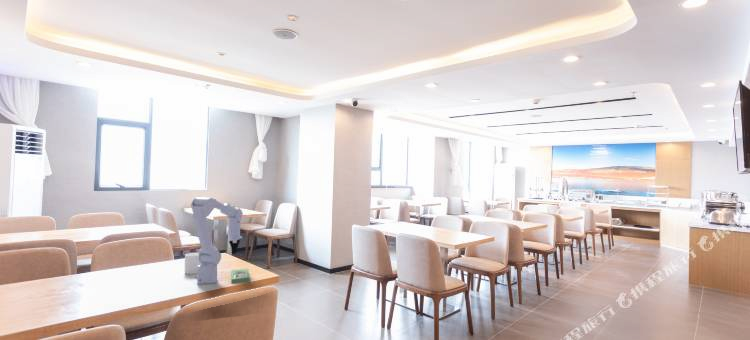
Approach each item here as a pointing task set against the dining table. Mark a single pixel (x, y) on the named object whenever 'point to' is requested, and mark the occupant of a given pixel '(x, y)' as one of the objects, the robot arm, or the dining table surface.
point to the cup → (192, 263)
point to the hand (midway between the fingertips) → (234, 253)
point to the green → (242, 279)
